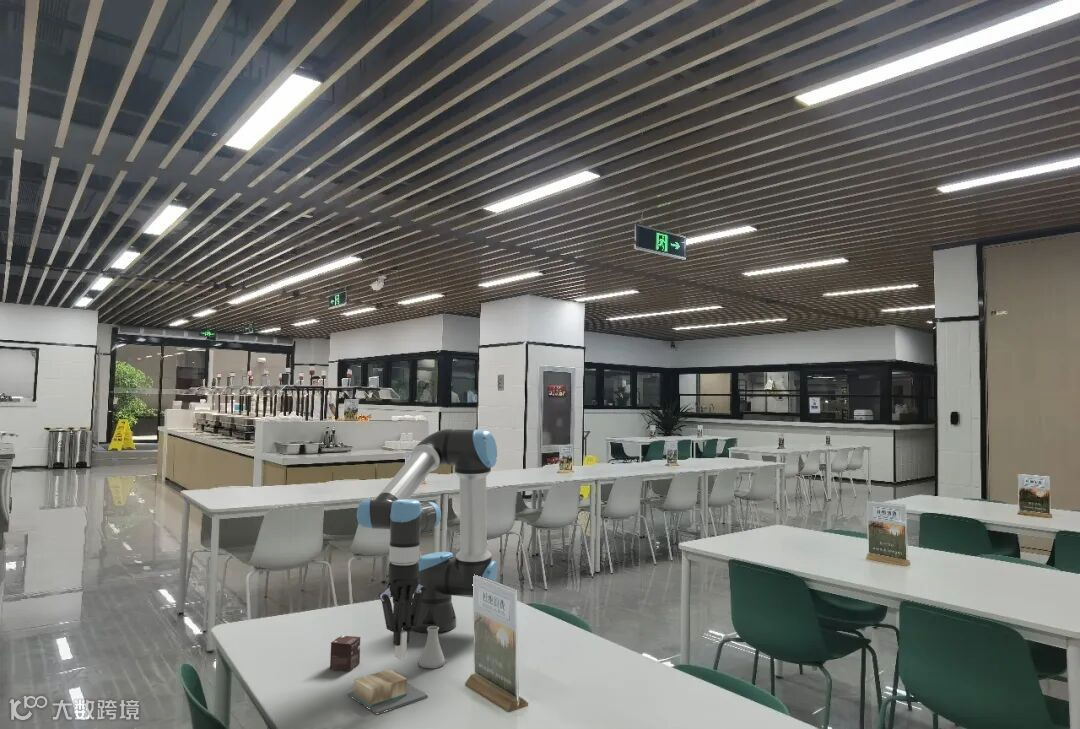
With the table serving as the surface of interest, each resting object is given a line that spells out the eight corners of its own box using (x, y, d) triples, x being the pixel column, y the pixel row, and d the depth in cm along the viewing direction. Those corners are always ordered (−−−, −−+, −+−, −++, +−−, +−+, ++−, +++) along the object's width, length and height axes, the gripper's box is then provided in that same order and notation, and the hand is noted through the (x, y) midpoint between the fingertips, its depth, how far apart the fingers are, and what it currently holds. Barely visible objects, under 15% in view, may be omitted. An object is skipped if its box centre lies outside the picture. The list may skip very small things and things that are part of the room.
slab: (389, 669, 168) (354, 679, 162) (407, 678, 163) (370, 689, 156) (389, 685, 168) (353, 696, 161) (406, 695, 162) (370, 707, 155)
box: (349, 672, 178) (350, 644, 178) (329, 670, 179) (330, 642, 179) (360, 663, 184) (361, 636, 184) (340, 661, 185) (341, 634, 185)
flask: (450, 662, 186) (451, 625, 187) (435, 671, 179) (436, 633, 180) (428, 657, 189) (429, 622, 190) (413, 666, 182) (414, 629, 183)
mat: (397, 679, 173) (397, 677, 173) (427, 697, 163) (427, 694, 163) (347, 694, 163) (348, 692, 163) (377, 714, 153) (377, 711, 153)
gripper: (417, 555, 175) (414, 647, 173) (373, 562, 166) (369, 659, 164) (433, 560, 169) (430, 655, 168) (389, 568, 160) (385, 668, 159)
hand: (400, 657), depth 166 cm, fingers closed
